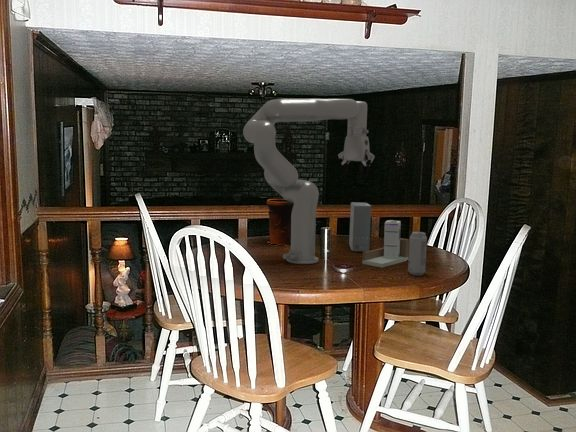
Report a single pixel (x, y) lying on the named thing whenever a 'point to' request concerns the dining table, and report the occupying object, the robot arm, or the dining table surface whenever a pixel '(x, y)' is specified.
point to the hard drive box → (360, 226)
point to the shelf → (378, 258)
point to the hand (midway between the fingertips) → (355, 175)
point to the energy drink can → (417, 253)
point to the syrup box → (392, 239)
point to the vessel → (280, 221)
